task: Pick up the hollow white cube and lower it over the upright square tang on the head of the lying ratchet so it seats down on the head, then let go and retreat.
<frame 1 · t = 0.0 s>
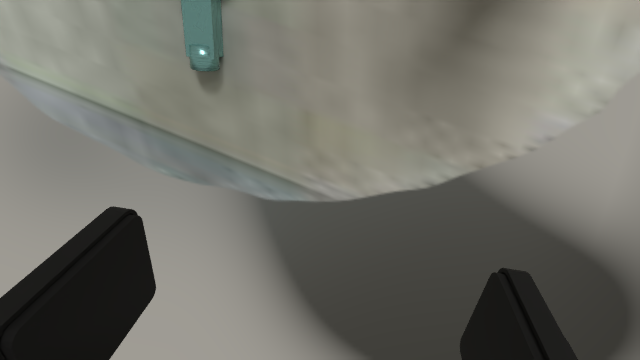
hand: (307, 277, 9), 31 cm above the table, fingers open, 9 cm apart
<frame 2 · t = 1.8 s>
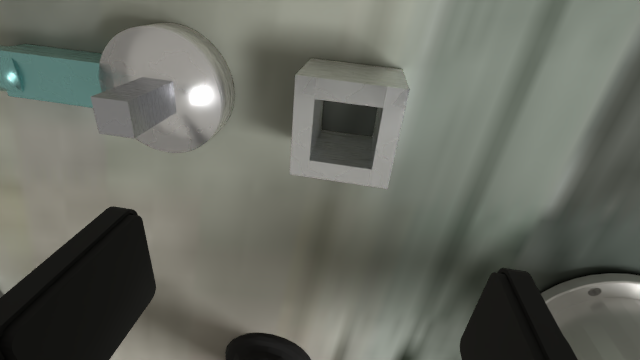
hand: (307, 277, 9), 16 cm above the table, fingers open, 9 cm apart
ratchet: (179, 85, 24), on the table
hollow white cube: (350, 108, 23), on the table
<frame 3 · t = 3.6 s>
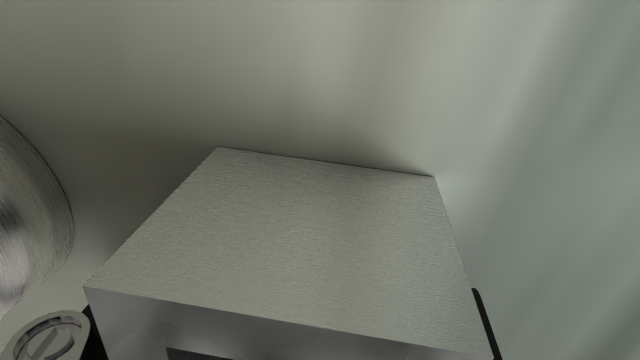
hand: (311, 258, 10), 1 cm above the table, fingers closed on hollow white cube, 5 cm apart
hollow white cube: (314, 246, 11), on the table, touching gripper
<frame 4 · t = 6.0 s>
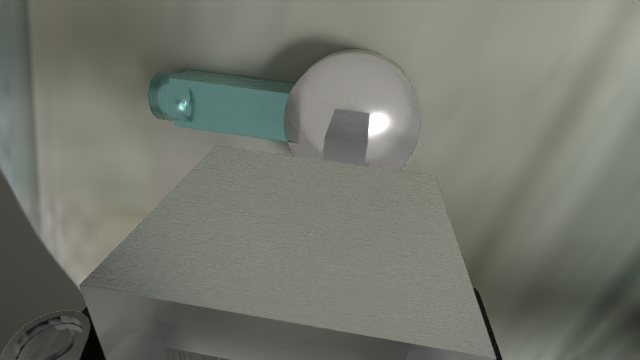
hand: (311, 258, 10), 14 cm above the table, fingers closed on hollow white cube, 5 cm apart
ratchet: (352, 114, 22), on the table
hollow white cube: (314, 245, 10), point 14 cm above the table, touching gripper
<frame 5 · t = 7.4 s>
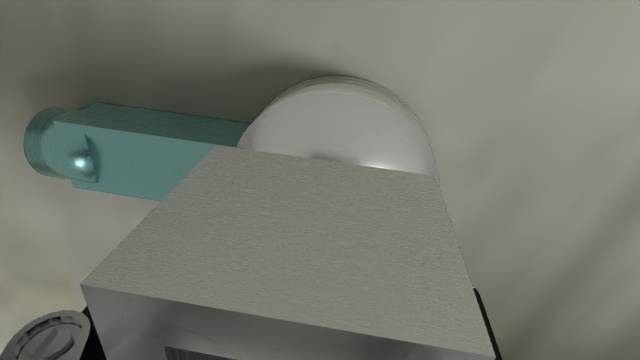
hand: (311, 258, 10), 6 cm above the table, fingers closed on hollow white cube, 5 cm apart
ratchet: (337, 167, 15), on the table
hollow white cube: (314, 245, 10), point 6 cm above the table, touching gripper
when the fingers open (4 cm above the table, at t = 8.2 s): hollow white cube stays where it is, resting on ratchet.
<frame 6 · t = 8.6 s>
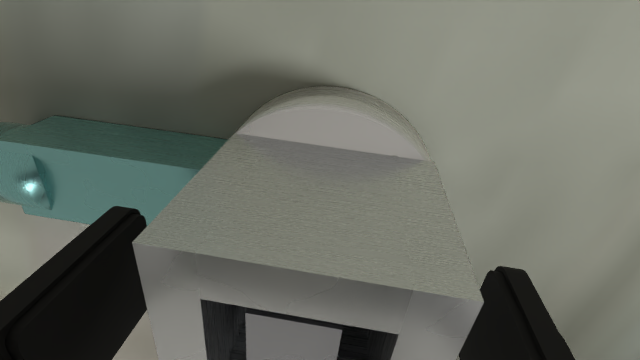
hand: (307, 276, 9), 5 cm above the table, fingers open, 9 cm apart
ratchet: (327, 188, 14), on the table
hollow white cube: (322, 227, 11), point 2 cm above the table, touching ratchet
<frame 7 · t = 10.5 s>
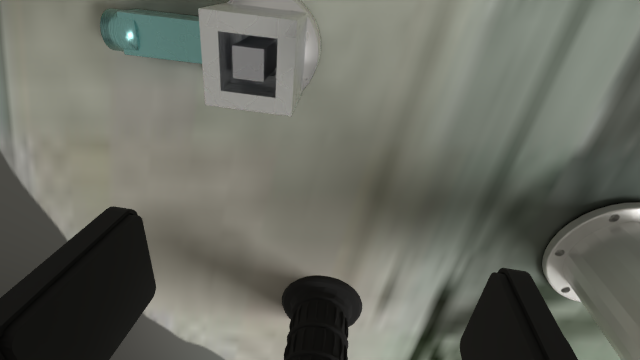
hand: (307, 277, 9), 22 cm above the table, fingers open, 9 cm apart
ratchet: (271, 45, 28), on the table
handle grip: (321, 303, 43), on the table
hollow white cube: (266, 50, 26), point 2 cm above the table, touching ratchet
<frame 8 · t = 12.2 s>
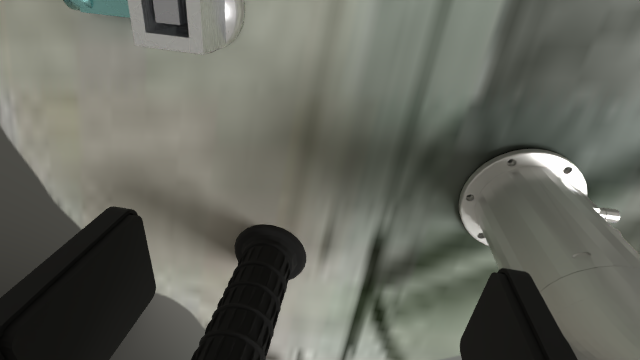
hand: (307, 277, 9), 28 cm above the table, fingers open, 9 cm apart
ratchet: (204, 5, 33), on the table
handle grip: (270, 253, 48), on the table
hollow white cube: (193, 6, 31), point 2 cm above the table, touching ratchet
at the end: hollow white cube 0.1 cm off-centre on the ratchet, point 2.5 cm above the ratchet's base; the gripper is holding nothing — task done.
